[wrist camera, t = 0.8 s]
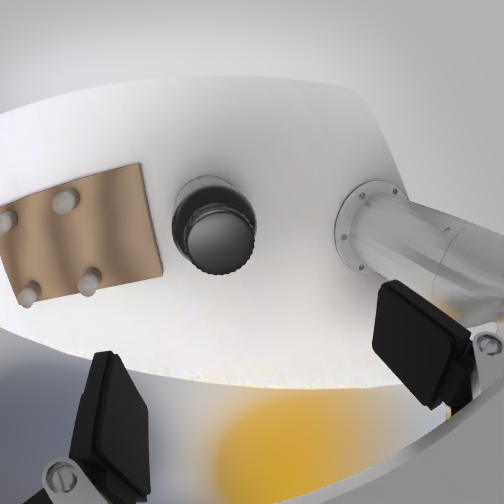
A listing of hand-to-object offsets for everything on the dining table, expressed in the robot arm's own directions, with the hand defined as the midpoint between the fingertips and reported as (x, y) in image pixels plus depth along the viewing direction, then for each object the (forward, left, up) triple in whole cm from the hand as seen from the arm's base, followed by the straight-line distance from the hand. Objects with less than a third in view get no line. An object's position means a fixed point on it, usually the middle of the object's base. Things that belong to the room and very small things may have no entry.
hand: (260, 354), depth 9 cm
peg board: (+16, 0, -23) cm, 28 cm away
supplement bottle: (0, 0, -23) cm, 23 cm away
